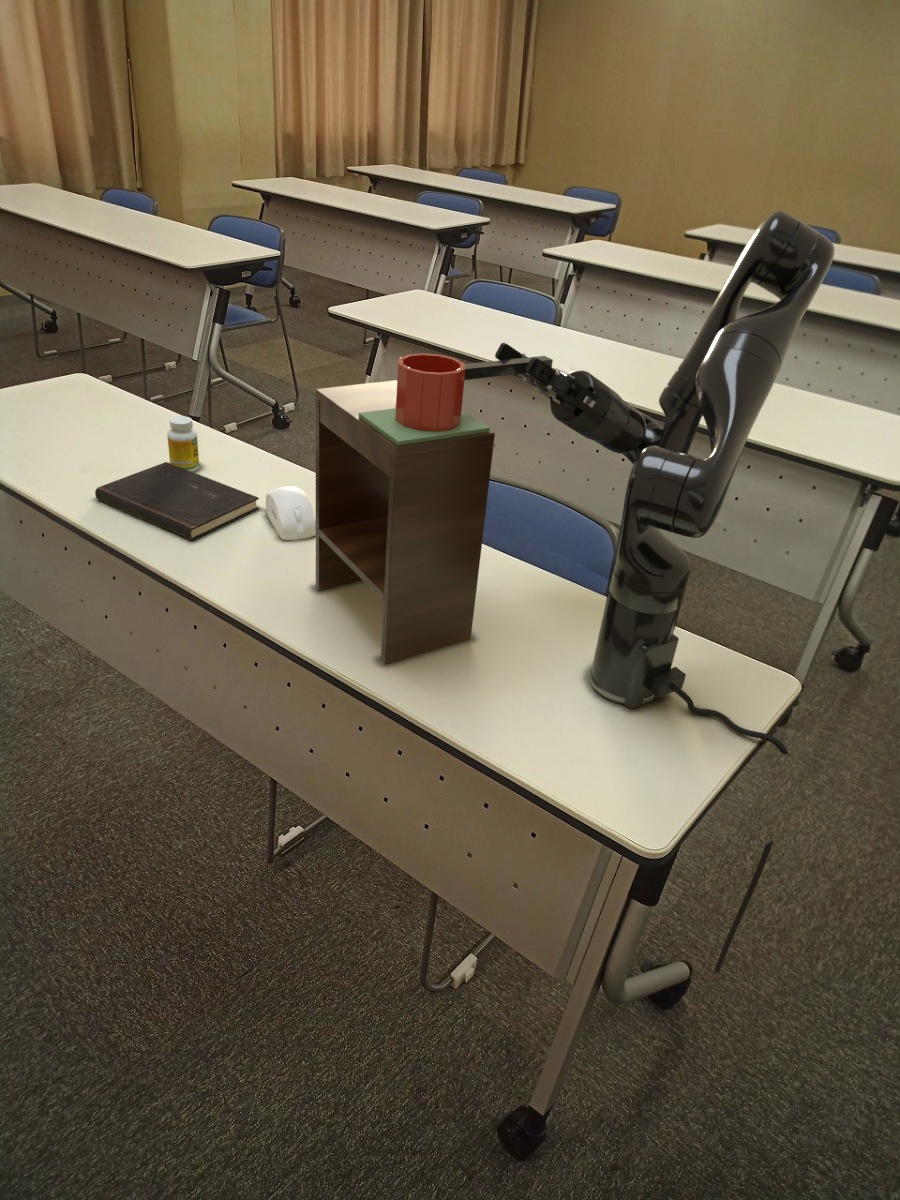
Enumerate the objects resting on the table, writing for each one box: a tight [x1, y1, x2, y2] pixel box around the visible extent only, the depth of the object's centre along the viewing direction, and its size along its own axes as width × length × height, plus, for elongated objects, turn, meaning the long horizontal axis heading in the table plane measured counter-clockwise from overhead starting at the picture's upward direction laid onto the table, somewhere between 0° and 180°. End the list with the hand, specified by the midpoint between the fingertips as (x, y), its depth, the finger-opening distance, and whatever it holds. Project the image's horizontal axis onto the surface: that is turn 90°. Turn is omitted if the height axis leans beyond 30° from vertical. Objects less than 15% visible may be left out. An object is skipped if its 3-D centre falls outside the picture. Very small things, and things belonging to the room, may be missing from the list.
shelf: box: [315, 379, 496, 665], centre depth 117 cm, size 22×14×31 cm, turn 32°
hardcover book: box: [94, 461, 260, 541], centre depth 148 cm, size 16×23×2 cm
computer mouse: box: [265, 485, 316, 541], centre depth 144 cm, size 6×13×6 cm, turn 24°
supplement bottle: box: [166, 415, 200, 472], centre depth 159 cm, size 5×5×10 cm
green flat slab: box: [359, 408, 491, 446], centre depth 105 cm, size 10×13×1 cm
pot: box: [395, 352, 554, 432], centre depth 106 cm, size 8×22×7 cm, turn 122°
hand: (514, 357), depth 107 cm, fingers open, 6 cm apart
